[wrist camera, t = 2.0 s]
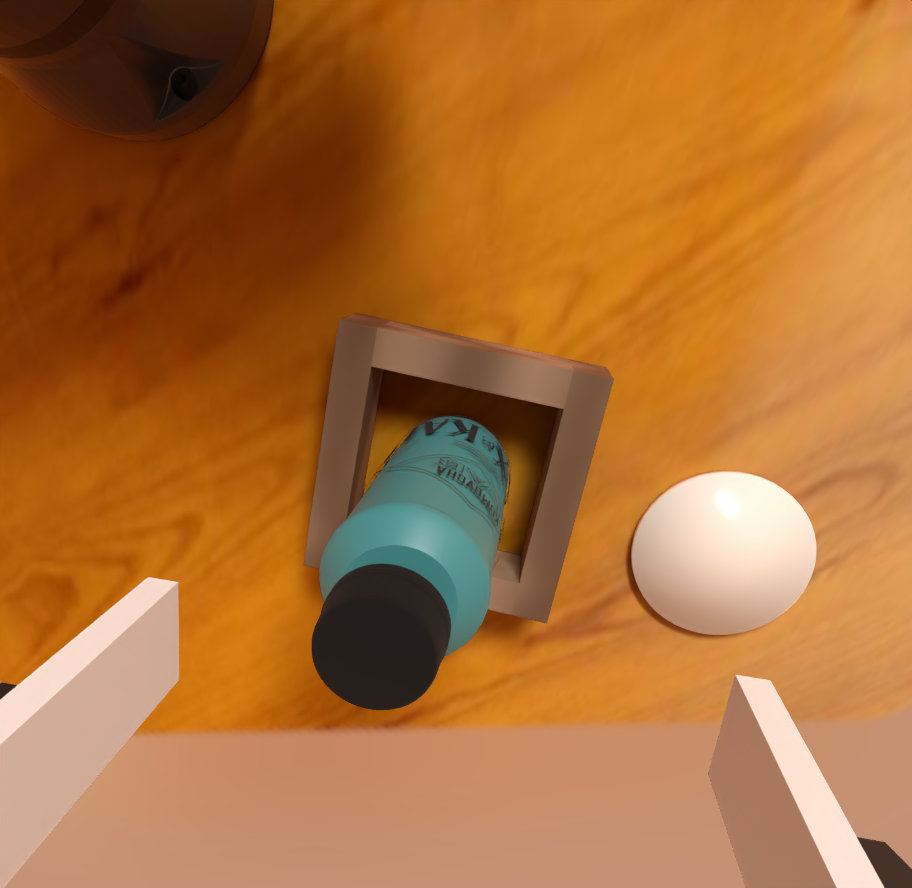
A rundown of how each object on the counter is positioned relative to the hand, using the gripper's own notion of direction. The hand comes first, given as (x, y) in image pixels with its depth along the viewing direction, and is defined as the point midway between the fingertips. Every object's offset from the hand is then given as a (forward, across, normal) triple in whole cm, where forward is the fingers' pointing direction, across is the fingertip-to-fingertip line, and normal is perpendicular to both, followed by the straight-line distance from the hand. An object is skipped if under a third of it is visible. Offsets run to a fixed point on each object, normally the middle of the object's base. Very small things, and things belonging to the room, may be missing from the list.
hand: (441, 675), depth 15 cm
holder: (+23, -2, -2) cm, 23 cm away
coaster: (+23, +14, -6) cm, 27 cm away
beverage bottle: (+23, -2, -2) cm, 23 cm away
